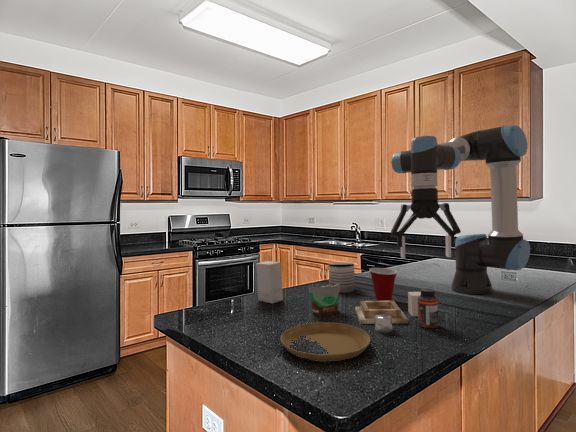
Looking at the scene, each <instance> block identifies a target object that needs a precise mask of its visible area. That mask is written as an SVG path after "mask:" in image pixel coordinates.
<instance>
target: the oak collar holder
mask: <svg viewBox="0 0 576 432" xmlns="http://www.w3.org/2000/svg"><path fill="white" fill-rule="evenodd" d="M354 309H355V310H354V311H355V313H356V315H357V319H358V321H359V324H360V325H370V324H372V325H373V324H374V325H375V316H376V315H380V314H385V315H390V316H392V324H409V318H407V316H406V314H404V312H403V311H402V309H401V308H400V307H399V306H398V304H397V303H396V301H395V300H394V299H393V300H392V299H391V301H377V300H360V306H355V307H354Z"/></svg>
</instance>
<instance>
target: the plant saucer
mask: <svg viewBox="0 0 576 432" xmlns="http://www.w3.org/2000/svg"><path fill="white" fill-rule="evenodd" d="M302 335H303V336H306V338H303V339H306V340H308V339H309V338H311V339H309V341H310V340H311V341H312V342H315V341H317V343H320V344H318V345H321V347H323V348H327V349H326V350H327V352H328V353H329V354H312V353H306V352H301V351H297V350H294V349H292V348H290V347H289V345H294V344H293V343H292V344H290V343H291V342H294V341H295V340H298V339H297V338H298V337H300V336H302ZM292 340H293V341H292ZM280 341H281V342H280V343H281V344H282V345H283V347H284V349H286V350H287V351H288V352H289V353H291V354H292V355H293V354H294V355H293V356H295V355H296V356H295V357H297V356H298V357H297V358H299V357H301V358H300V359H302V358H305V359H310V360H317V361H339V360H344V361H346V360H345V359H348V360H351V359H353V357H354V358H355V357H358V356H359V355H361V354H362V353H363V352H364V351H365V350H366V349H367V348H368V346H369V344H370V342H371V337H370V334H368V332H367V331H365V330H363V329H362V328H359V327H356V326H354V325H350V324H345V323H340V322H309V323H303V324H298V325H295V326H292V327H290V328H288V329H287V330H284V332H282V333H281V335H280ZM295 343H296V341H295ZM340 353H341V354H340ZM350 358H351V359H350ZM305 359H304V360H305ZM339 362H340V361H339Z"/></svg>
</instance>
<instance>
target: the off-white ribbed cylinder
mask: <svg viewBox="0 0 576 432" xmlns="http://www.w3.org/2000/svg"><path fill="white" fill-rule="evenodd" d="M355 280H356V278H355V262H330V263H328V285H333V284H336V282H338V283H339V285H340V288H341V290H340V291H339V293H350V292H353V291H355V289H356V281H355Z"/></svg>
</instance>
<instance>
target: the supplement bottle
mask: <svg viewBox="0 0 576 432" xmlns="http://www.w3.org/2000/svg"><path fill="white" fill-rule="evenodd" d="M420 292H421V295H420V296H418V316H417V323H418V324H417V325H418V326H420V327H422V328H425V329H435V328H439V327H438V326H439V298H438V296H436V295H435V294H436V293H435V289H434V288H429V287H428V288H427V287H424V288H421V289H420Z"/></svg>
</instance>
